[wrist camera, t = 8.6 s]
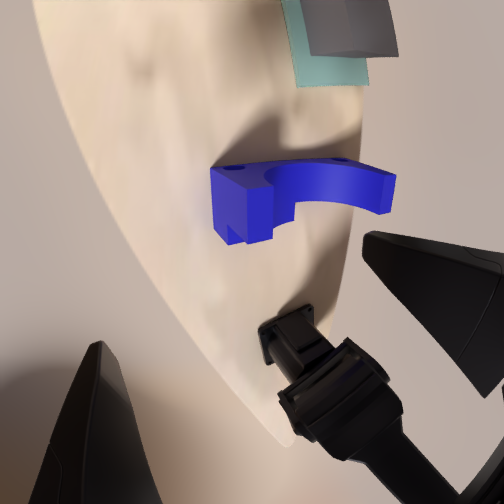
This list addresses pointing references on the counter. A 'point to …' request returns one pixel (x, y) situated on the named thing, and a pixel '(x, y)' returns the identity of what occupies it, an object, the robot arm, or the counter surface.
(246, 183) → the blue arched bracket
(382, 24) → the gray cube block
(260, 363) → the counter surface
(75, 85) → the counter surface
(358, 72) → the teal board
